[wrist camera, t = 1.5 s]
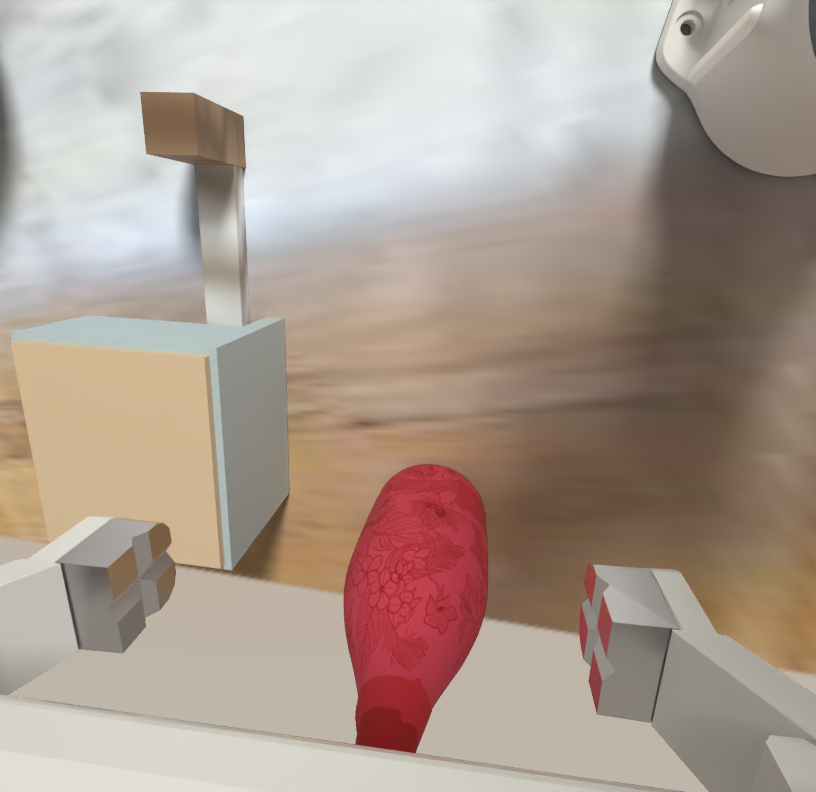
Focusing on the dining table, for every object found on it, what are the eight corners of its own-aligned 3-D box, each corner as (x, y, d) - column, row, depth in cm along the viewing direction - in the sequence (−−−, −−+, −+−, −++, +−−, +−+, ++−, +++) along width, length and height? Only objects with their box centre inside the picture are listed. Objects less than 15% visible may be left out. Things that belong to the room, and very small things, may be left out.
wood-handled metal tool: (198, 115, 39) (140, 91, 32) (243, 116, 39) (193, 92, 32) (214, 345, 44) (167, 365, 38) (254, 348, 44) (213, 369, 37)
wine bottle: (501, 542, 46) (529, 1038, 18) (399, 566, 48) (278, 1040, 20) (466, 444, 44) (434, 834, 16) (360, 474, 46) (162, 862, 18)
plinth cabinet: (126, 307, 44) (1, 333, 33) (284, 318, 43) (211, 350, 31) (146, 477, 49) (44, 551, 38) (289, 492, 48) (228, 575, 36)
